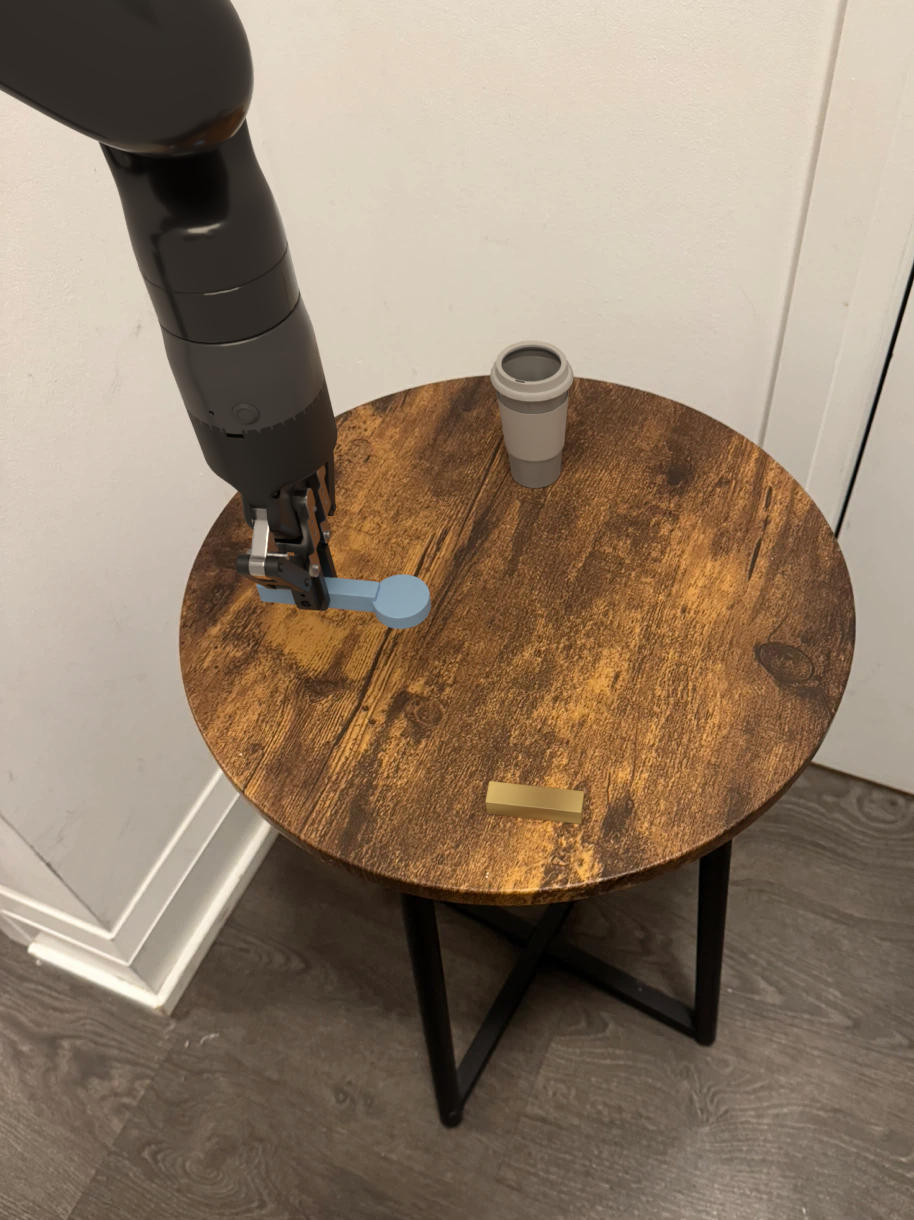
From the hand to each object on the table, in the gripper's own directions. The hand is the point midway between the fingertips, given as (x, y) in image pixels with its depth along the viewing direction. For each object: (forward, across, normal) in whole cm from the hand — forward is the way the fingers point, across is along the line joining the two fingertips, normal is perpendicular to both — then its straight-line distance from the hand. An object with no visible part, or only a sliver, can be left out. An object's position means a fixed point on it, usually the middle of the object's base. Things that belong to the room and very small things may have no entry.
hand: (317, 594), depth 69 cm
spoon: (+1, 0, +1) cm, 1 cm away
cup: (+15, -29, +10) cm, 34 cm away
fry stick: (+15, +6, +15) cm, 22 cm away
